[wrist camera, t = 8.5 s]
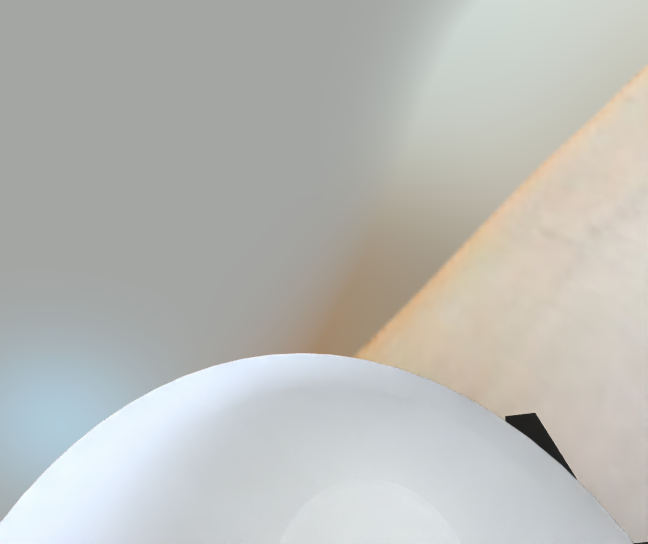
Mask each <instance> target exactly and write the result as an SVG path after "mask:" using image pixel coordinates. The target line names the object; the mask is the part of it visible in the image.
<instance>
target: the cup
mask: <svg viewBox="0 0 648 544" xmlns="http://www.w3.org/2000/svg"><path fill="white" fill-rule="evenodd" d="M0 544H634V543H633V541H632V540H631V539H630V537H629V536H628V535H627V534H626V532H625V531H624V530H623V529H622V528H621V527H620V526H619V524H618V523H617V522H616V521H615V520H614V519H613V518H612V516H611V515H610V514H609V513H608V512H607V511H606V510H605V509H604V507H603V506H602V505H601V504H600V503H599V502H598V501H597V499H596V498H595V497H594V496H593V495H592V494H591V493H590V492H589V491H588V490H587V489H586V488H585V487H584V486H583V485H582V484H581V483H579V482H578V481H577V480H576V479H575V478H574V477H573V476H572V475H571V474H570V473H569V472H568V471H567V470H566V469H565V468H564V467H563V466H562V465H561V464H560V463H559V462H557V461H556V460H555V459H554V458H553V457H551V456H550V455H549V454H548V453H547V452H545V451H544V450H543V449H542V448H541V447H539V446H538V445H537V444H536V443H535V442H533V441H532V440H531V439H530V438H529V437H527V436H526V435H524V434H523V433H522V432H520V431H519V430H517V429H516V428H514V427H513V426H512V425H510V424H509V423H507V422H506V421H504V420H503V419H502V418H500V417H499V416H497V415H496V414H494V413H493V412H491V411H489V410H487V409H486V408H484V407H482V406H481V405H479V404H477V403H475V402H474V401H472V400H470V399H468V398H467V397H465V396H463V395H461V394H459V393H457V392H455V391H453V390H451V389H449V388H446V387H444V386H442V385H440V384H438V383H436V382H434V381H431V380H429V379H427V378H424V377H421V376H418V375H415V374H413V373H410V372H407V371H404V370H401V369H398V368H395V367H391V366H387V365H383V364H380V363H376V362H372V361H368V360H363V359H357V358H350V357H343V356H337V355H324V354H305V353H300V354H299V353H298V354H278V355H277V354H276V355H266V356H259V357H252V358H246V359H240V360H236V361H232V362H228V363H224V364H219V365H215V366H211V367H209V368H206V369H203V370H200V371H197V372H194V373H191V374H189V375H185V376H183V377H181V378H178V379H176V380H174V381H172V382H169V383H167V384H165V385H163V386H161V387H158V388H156V389H154V390H152V391H151V392H149V393H147V394H145V395H143V396H142V397H140V398H138V399H136V400H135V401H133V402H131V403H129V404H127V405H126V406H125V407H123V408H122V409H120V410H118V411H117V412H115V413H114V414H113V415H111V416H110V417H108V418H107V419H105V420H104V421H102V422H101V423H99V424H98V425H97V426H96V427H94V428H93V429H92V430H91V431H89V432H88V433H87V434H86V435H84V436H83V437H82V438H81V439H79V440H78V441H77V442H76V443H74V444H73V445H72V446H71V447H70V448H69V449H68V450H67V451H66V452H65V453H64V454H62V455H61V457H59V458H58V459H57V460H56V461H55V462H54V463H53V464H52V465H51V466H50V467H48V469H46V471H45V472H44V473H43V474H42V475H41V476H40V477H39V478H38V479H37V480H36V481H35V483H34V484H33V485H32V486H31V487H30V488H29V489H28V490H27V491H26V492H25V493H24V494H23V495H22V497H21V498H20V499H19V500H18V502H17V503H16V504H15V505H14V507H13V508H12V509H11V510H10V512H9V513H8V514H7V515H6V516H5V518H4V519H3V520H2V521H1V523H0Z"/></svg>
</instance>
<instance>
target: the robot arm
mask: <svg viewBox="0 0 648 544" xmlns="http://www.w3.org/2000/svg"><path fill="white" fill-rule="evenodd" d="M505 419H506V422H507V423H509V424H510V425H512V426H513V427H514V428H516V429H517V430H519V431H520V432H522V433H523V434H524V435H526V436H527V437H529V438H530V439H531V440H532V441H533V442H535V443H536V444H537V445H538V446H539V447H541V448H542V449H543V450H544V451H545V452H547V453H548V454H549V455H550V456H551V457H553V458H554V459H555V460H556V461H557V462H559V463H560V464H561V465H562V466H563V467H564V468H565V469H566V470H567V471H568V472H569V473H570V474H571V475H572V476H573V477H574V478H575V479H576V477H575V475H574V474H573V472H572V471H571V469H570V468H569V466H568V464H567V463H566V461H565V460H564V458H563V456H562V455H561V453H560V452H559V450H558V448H557V447H556V445H555V444H554V442H553V441H552V439H551V437H550V436H549V434H548V433H547V431H546V429H545V428H544V426H543V425H542V423H541V421H540V420H539V418H538V417H537V415H536V414H535V413H530V414H522V415H513V416H505ZM576 480H577V479H576ZM577 481H578V480H577ZM634 544H648V542H643V543H634Z"/></svg>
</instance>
